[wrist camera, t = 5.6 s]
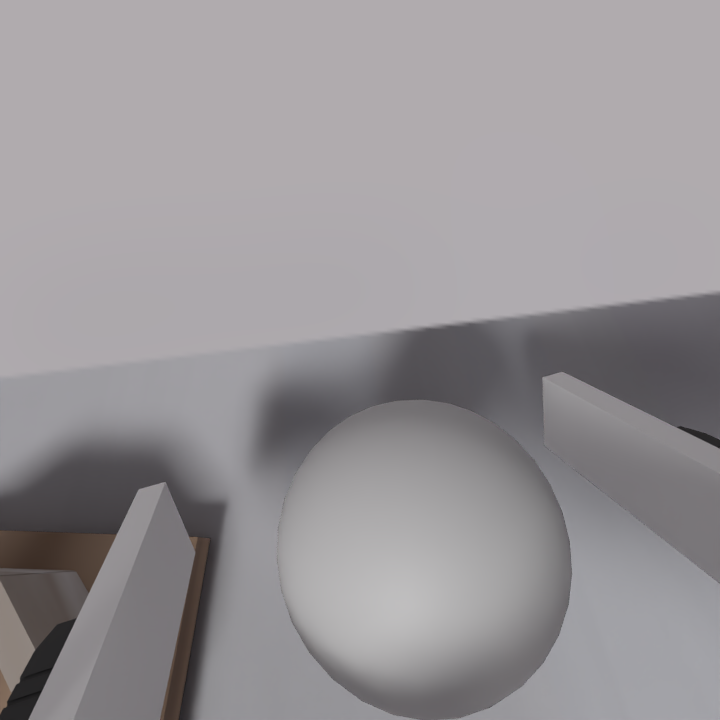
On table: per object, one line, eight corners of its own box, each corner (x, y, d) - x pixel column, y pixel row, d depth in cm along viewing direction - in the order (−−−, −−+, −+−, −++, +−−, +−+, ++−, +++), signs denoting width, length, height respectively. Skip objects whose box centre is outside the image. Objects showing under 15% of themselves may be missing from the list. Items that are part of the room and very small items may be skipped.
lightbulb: (316, 463, 17) (276, 343, 8) (457, 470, 17) (602, 361, 8) (301, 631, 15) (208, 788, 5) (467, 639, 15) (707, 813, 5)
